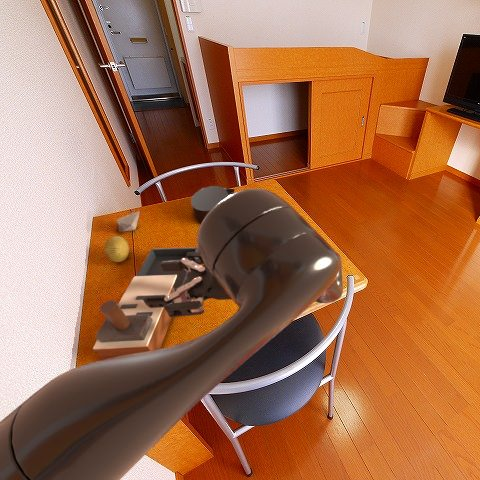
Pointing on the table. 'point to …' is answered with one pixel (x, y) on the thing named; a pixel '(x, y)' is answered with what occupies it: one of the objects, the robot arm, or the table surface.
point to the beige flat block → (159, 316)
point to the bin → (164, 254)
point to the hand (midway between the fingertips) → (154, 282)
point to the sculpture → (117, 249)
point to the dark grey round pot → (208, 200)
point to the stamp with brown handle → (122, 324)
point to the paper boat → (128, 222)
